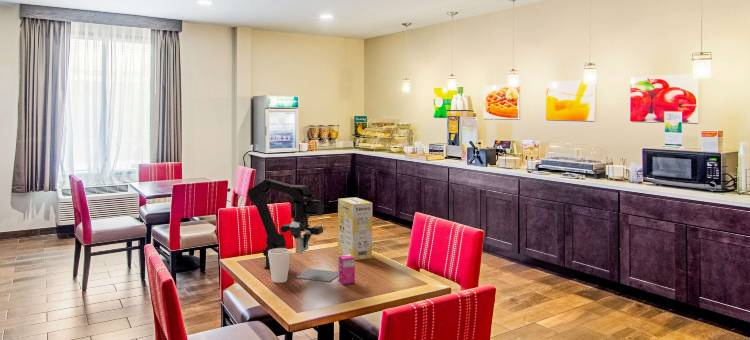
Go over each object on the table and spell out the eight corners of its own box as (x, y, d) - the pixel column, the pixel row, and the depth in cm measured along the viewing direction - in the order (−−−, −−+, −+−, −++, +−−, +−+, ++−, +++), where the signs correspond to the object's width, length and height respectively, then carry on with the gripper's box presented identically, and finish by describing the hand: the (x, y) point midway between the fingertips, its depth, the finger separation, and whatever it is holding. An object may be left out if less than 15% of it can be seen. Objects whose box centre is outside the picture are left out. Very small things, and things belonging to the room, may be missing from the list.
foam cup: (294, 278, 234) (294, 249, 232) (284, 284, 225) (283, 254, 224) (275, 276, 237) (274, 247, 235) (264, 282, 228) (263, 252, 227)
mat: (295, 278, 234) (295, 277, 234) (309, 269, 247) (309, 268, 247) (329, 282, 229) (329, 281, 229) (341, 273, 242) (341, 272, 242)
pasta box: (371, 257, 269) (372, 202, 266) (352, 260, 264) (353, 204, 261) (355, 249, 285) (356, 197, 282) (337, 251, 280) (338, 198, 277)
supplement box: (337, 281, 231) (337, 255, 230) (350, 279, 233) (350, 254, 232) (342, 285, 225) (342, 258, 224) (355, 283, 228) (355, 257, 227)
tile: (295, 252, 238) (295, 238, 237) (303, 248, 246) (303, 234, 245) (300, 253, 237) (300, 238, 237) (308, 248, 245) (308, 234, 244)
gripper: (274, 215, 235) (274, 250, 237) (313, 218, 229) (313, 254, 231) (286, 211, 246) (286, 245, 247) (323, 213, 240) (323, 248, 241)
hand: (302, 248), depth 241 cm, fingers closed on tile, 2 cm apart
